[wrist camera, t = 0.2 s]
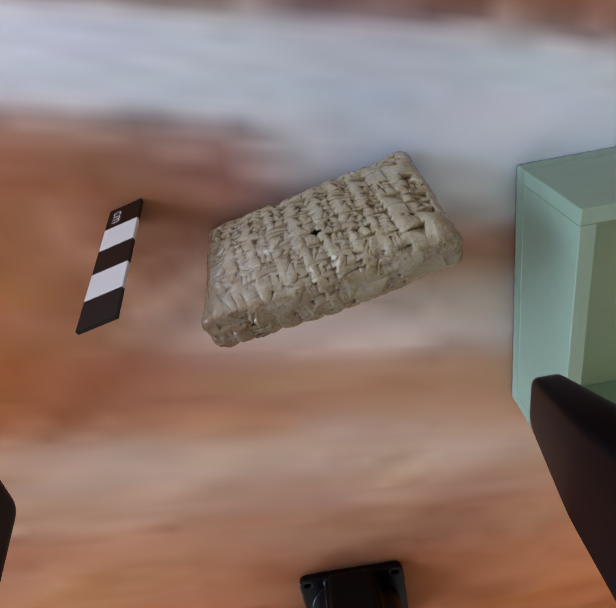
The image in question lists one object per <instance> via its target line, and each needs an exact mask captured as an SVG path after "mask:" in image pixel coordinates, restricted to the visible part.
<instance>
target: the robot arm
mask: <svg viewBox="0 0 616 608" xmlns="http://www.w3.org/2000/svg"><path fill="white" fill-rule="evenodd" d="M530 423H531V427H532V430H533V433H534V435H535V437H536V440H537V442H538V444H539V447H540V449H541V452H542V454H543V456H544V459H545V461H546V464H547V466H548V468H549V471H550V473H551V475H552V478H553V480H554V483H555V485H556V487H557V490H558V492H559V495H560V497H561V499H562V502H563V504H564V506H565V508H566V511H567V513H568V515H569V517H570V519H571V521H572V523H573V525H574V527H575V529H576V530H577V532H578V534H579V536H580V538H581V539H582V541H583V543H584V545H585V547H586V548H587V550H588V552H589V554H590V556H591V557H592V559H593V561H594V563H595V565H596V566H597V568H598V570H599V572H600V574H601V575H602V577H603V579H604V581H605V582H606V584H607V586H608V588H609V590H610V591H611V593H612V595H613V597H614V599H615V600H616V404H615V403H613V402H611V401H609V400H608V399H606V398H604V397H602V396H600V395H598V394H596V393H595V392H593V391H591V390H589V389H587V388H585V387H583V386H581V385H580V384H578V383H576V382H574V381H572V380H570V379H568V378H567V377H565V376H562V375H560V374H553V375H547V376H541V377H536V378H535V379H534V380H533V381H532V384H531V399H530ZM15 516H16V507H15V503H14V501H13V499H12V497H11V496H10V494H9V493H8V491H7V490H6V488H5V487H4V485H3V484H2V482H1V480H0V581H1V577H2V572H3V568H4V564H5V560H6V555H7V551H8V547H9V543H10V538H11V534H12V530H13V526H14V521H15ZM300 589H301V592H302V595H303V598H304V602H305V605H306V608H408V605H407V598H406V590H405V583H404V576H403V570H402V565H401V563H400V562H397V561H391V562H385V563H379V564H373V565H367V566H361V567H354V568H348V569H342V570H336V571H330V572H323V573H317V574H311V575H305V576H303V577H301V579H300Z"/></svg>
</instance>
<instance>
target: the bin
mask: <svg viewBox="0 0 616 608" xmlns="http://www.w3.org/2000/svg"><path fill="white" fill-rule="evenodd" d="M553 374H560V375H562V376H565V377H567V378H568V379H570V380H572V381H574V382H576V383H578V384H580V385H581V386H583V387H585V388H587V389H589V390H591V391H593V392H595V393H596V394H598V395H600V396H602V397H604V398H606V399H608V400H609V401H611V402H613V403H615V404H616V147H612V148H606V149H601V150H596V151H590V152H585V153H579V154H574V155H569V156H563V157H558V158H553V159H547V160H542V161H537V162H531V163H526V164H520V165H517V186H516V236H515V285H514V334H513V383H512V396H513V398H514V400H515V401H516V403H517V405H518V406H519V408H520V410H521V411H522V413H523V415H524V416H525V418H526V420H527V421H528V423H529V425H530V426H531V423H530V399H531V384H532V381H533V380H534V379H535V378H536V377H541V376H547V375H553ZM531 428H532V427H531Z"/></svg>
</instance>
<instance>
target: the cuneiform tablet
mask: <svg viewBox="0 0 616 608" xmlns="http://www.w3.org/2000/svg"><path fill="white" fill-rule="evenodd" d="M142 205H143V200H142V198H141V199H139V200H136V201H134V202H132V203H130V204H127V205H125V206H123V207H121V208H118V209H116V210H114V211H112V212H111V213H110V216H109V219H108V223H107V226H106V230H105V233H104V236H103V240H102V243H101V247H100V250H99V253H98V257H97V260H96V264H95V267H94V270H93V274H92V277H91V281H90V284H89V287H88V291H87V294H86V298H85V301H84V304H83V308H82V311H81V315H80V318H79V321H78V325H77V328H76V333H77V334H78V335H80V334H82V333H84V332H87V331H89V330H92V329H94V328H97V327H99V326H101V325H104V324H106V323H109V322H111V321H114V320H116V319H119V314H120V309H121V305H122V300H123V295H124V290H125V286H126V281H127V276H128V271H129V267H130V262H131V257H132V253H133V248H134V243H135V238H136V234H137V229H138V224H139V219H140V215H141V210H142ZM461 242H462V236H461V235H460V233H459V232H458V230H457V229H456V227H455V226H454V224H453V223H452V222H451V221H450V219H449V218H448V217H447V216H446V214H445V212H444V211H443V209H442V207H441V206H440V204H439V202H438V200H437V198H436V196H435V195H434V193H433V192H432V190H431V189H430V187H429V186H428V184H427V183H426V181H425V180H424V178H423V177H422V176H421V174H420V173H419V172H418V170H417V168H416V167H415V165H414V164H413V162H412V160H411V158H410V156H409V155H408V154H407V153H406V152H403V151H398V152H395V153H393V154H391V155H389V156H387V157H386V158H384V159H382V160H381V161H379V162H376V163H374V164H372V165H371V166H369V167H363V168H361V169H359V170H358V171H352V172H351V173H344V174H343V175H341V176H340V177H339V178H337V179H330V180H327V181H325V182H324V183H322V184H321V185H320V186H314V187H311V188H309V189H307V190H305V191H303V192H301V193H300V194H296V195H295V196H293V197H289V198H286V199H285V200H283V201H282V202H281V203H280V205H276V204H269V205H267V206H265V207H263V208H262V209H258V210H256V211H253V212H251V213H248V214H246V215H245V216H244V217H242V218H238V219H236V220H232V221H228V222H227V223H223V224H221V225H220V226H218V227H217V228H215V229H213V230H212V231H211V232H210V235H209V243H210V245H209V250H208V255H207V288H206V295H205V304H204V313H203V316H202V326H203V330H204V331H205V332H206V333H208V334H209V335H211V338H212V340H213V341H214V342H215V344H217V345H219V346H221V347H232V346H235V345H236V344H238V343H239V342H245V341H249V340H252V339H253V338H260V337H264V336H266V335H269V334H270V333H275V332H277V331H279V330H280V329H281V328H290V327H294V326H297V325H299V324H301V323H302V322H304V321H312V320H317V319H320V318H322V317H323V316H325V315H333V314H336V313H338V312H341V311H342V310H344V309H345V308H350V307H353V306H356V305H358V304H360V303H362V302H366V301H369V300H371V299H372V298H376V297H378V296H381V295H383V294H386V293H388V292H391V291H394V290H397V289H399V288H401V287H403V286H405V285H407V284H409V283H411V282H413V281H415V280H418V279H420V278H422V277H424V276H426V275H429V274H431V273H435V272H438V271H441V270H444V269H447V268H450V267H452V266H454V265H456V264H458V263H459V262H460V261H461V260H462V245H461Z"/></svg>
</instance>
